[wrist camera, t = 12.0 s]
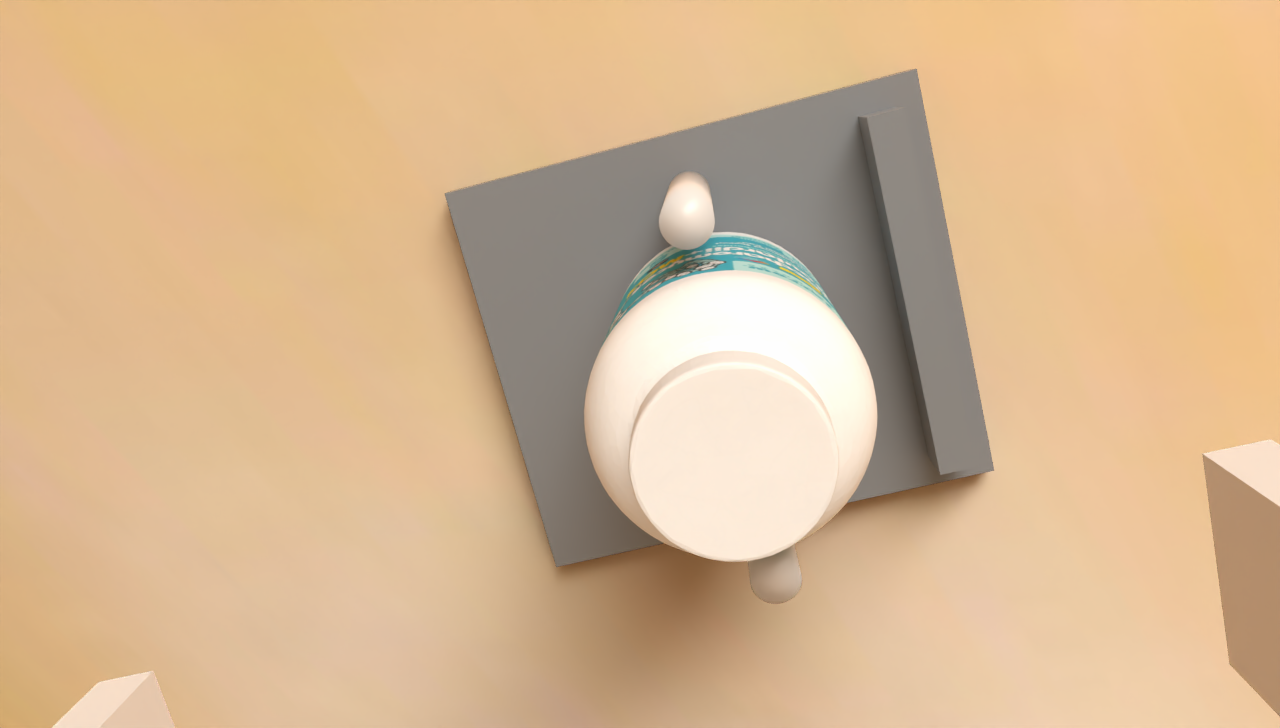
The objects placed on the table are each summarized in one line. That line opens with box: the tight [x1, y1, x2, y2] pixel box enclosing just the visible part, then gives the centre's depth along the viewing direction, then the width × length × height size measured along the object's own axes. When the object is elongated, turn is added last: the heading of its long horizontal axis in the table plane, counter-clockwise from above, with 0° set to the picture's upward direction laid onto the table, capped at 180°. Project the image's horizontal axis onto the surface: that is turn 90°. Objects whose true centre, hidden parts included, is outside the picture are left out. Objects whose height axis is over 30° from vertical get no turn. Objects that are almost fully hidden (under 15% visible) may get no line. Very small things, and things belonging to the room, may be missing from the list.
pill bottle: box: [584, 232, 877, 562], centre depth 30 cm, size 8×7×14 cm
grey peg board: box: [445, 69, 994, 604], centre depth 32 cm, size 16×14×10 cm
